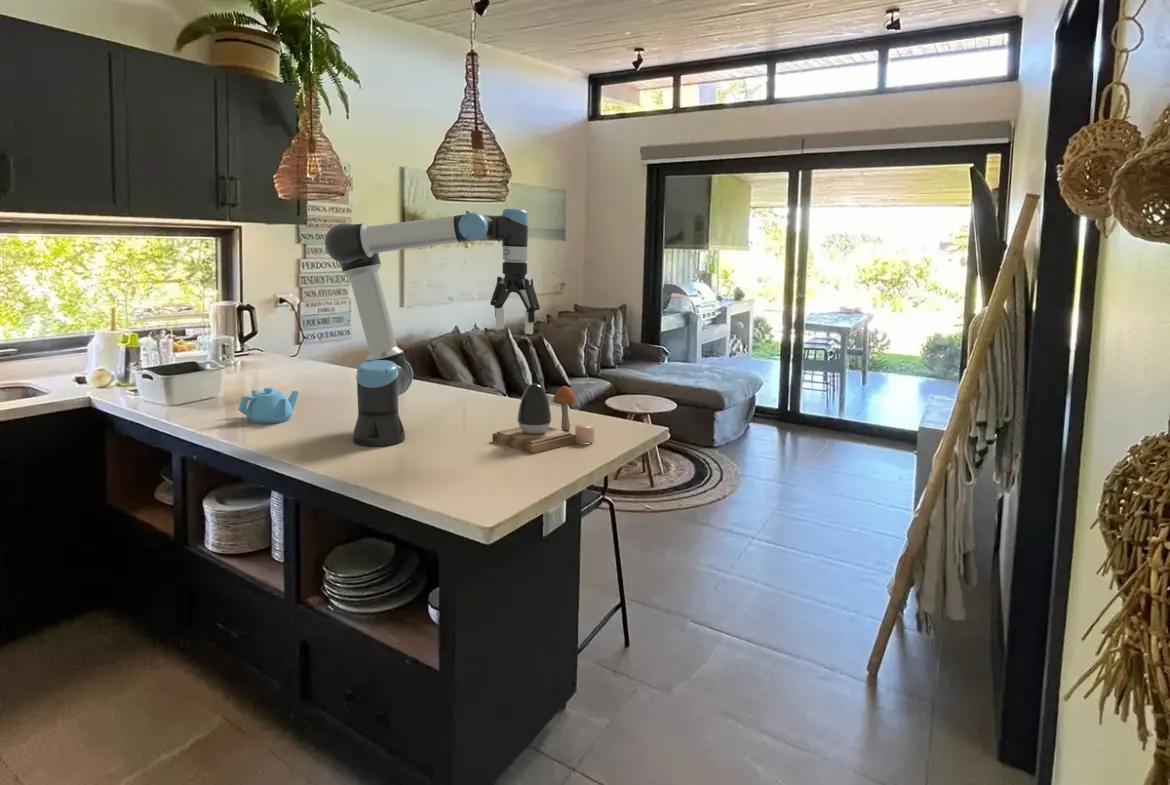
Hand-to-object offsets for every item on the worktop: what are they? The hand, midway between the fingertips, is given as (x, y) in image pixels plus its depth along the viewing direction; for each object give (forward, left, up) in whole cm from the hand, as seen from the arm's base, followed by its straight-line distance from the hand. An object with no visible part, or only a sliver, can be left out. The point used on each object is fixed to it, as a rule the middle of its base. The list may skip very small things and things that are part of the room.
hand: (514, 331), depth 223 cm
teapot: (-65, -49, -33) cm, 88 cm away
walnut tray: (+12, -2, -33) cm, 35 cm away
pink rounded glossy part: (+22, +10, -33) cm, 41 cm away
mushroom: (+8, +15, -33) cm, 37 cm away
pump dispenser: (+12, -2, -30) cm, 32 cm away
